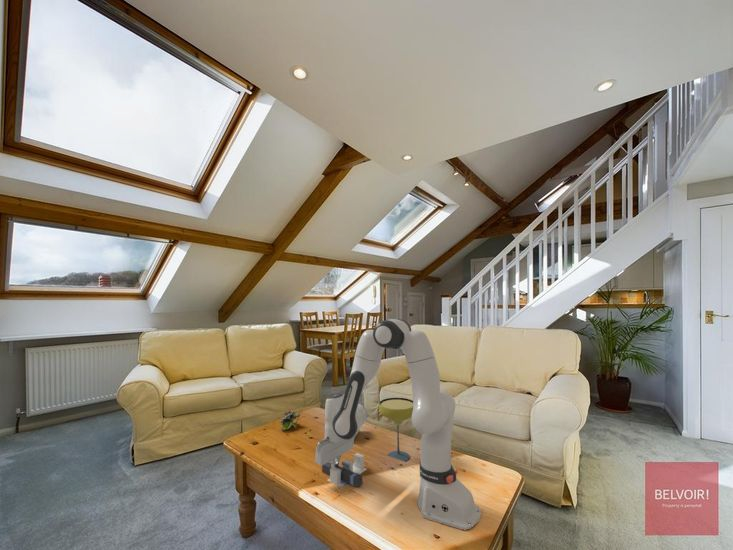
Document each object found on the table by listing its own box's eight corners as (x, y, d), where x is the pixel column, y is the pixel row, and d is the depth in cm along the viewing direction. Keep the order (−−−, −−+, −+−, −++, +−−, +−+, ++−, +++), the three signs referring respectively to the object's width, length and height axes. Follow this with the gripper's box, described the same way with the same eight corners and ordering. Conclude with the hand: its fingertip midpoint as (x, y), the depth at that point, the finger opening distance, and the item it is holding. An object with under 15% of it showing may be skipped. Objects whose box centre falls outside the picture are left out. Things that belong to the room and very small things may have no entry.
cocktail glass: (405, 445, 170) (404, 395, 171) (425, 461, 153) (423, 406, 155) (373, 452, 162) (372, 400, 164) (390, 469, 146) (389, 412, 147)
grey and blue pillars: (368, 472, 144) (367, 457, 144) (341, 491, 130) (341, 473, 131) (353, 466, 149) (353, 451, 149) (326, 483, 136) (326, 467, 136)
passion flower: (287, 435, 196) (293, 414, 203) (300, 436, 190) (306, 414, 198) (274, 429, 189) (281, 408, 197) (287, 430, 184) (293, 408, 191)
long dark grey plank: (362, 483, 132) (362, 475, 132) (357, 487, 130) (357, 478, 130) (327, 468, 144) (327, 461, 145) (321, 471, 142) (321, 464, 142)
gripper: (322, 444, 130) (322, 480, 129) (356, 427, 146) (356, 460, 145) (311, 440, 134) (311, 475, 133) (345, 424, 150) (345, 455, 149)
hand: (335, 467), depth 139 cm, fingers closed, pressing on long dark grey plank
